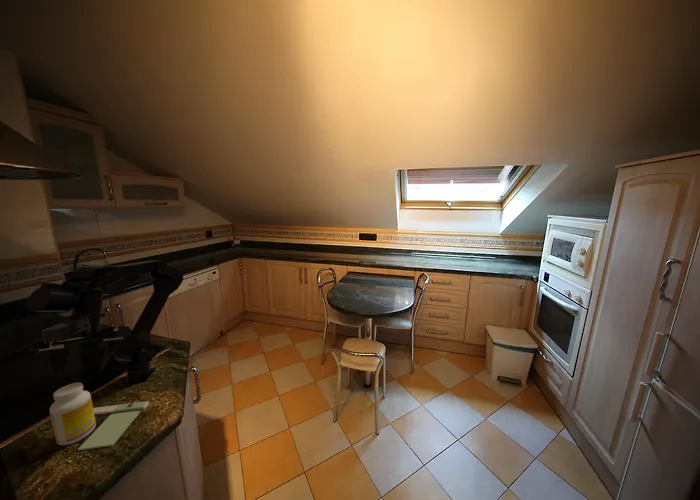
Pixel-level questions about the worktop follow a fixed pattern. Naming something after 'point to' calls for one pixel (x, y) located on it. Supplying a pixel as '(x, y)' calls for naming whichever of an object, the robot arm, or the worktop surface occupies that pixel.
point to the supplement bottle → (72, 414)
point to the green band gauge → (112, 424)
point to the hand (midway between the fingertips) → (80, 373)
